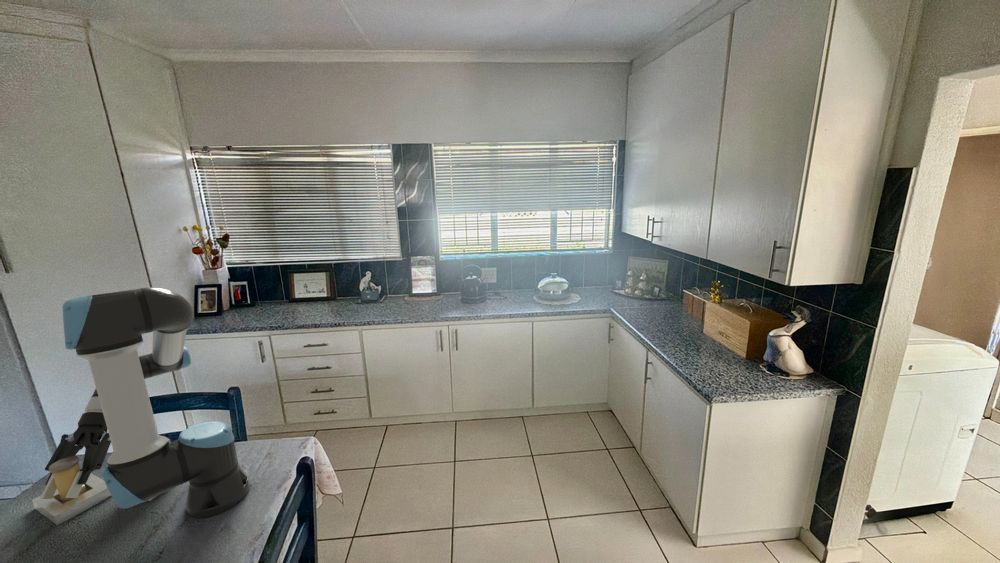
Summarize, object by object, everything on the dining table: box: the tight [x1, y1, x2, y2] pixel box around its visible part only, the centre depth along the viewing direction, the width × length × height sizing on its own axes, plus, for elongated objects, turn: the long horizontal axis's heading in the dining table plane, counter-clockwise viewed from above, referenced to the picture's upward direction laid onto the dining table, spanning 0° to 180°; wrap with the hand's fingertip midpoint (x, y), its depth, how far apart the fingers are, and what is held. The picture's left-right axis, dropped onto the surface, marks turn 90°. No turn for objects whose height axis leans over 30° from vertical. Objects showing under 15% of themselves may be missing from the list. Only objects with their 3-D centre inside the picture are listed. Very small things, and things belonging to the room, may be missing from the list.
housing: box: [31, 472, 112, 526], centre depth 111 cm, size 14×12×3 cm
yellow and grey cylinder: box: [48, 455, 87, 504], centre depth 110 cm, size 6×6×13 cm
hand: (58, 498), depth 107 cm, fingers open, 6 cm apart
